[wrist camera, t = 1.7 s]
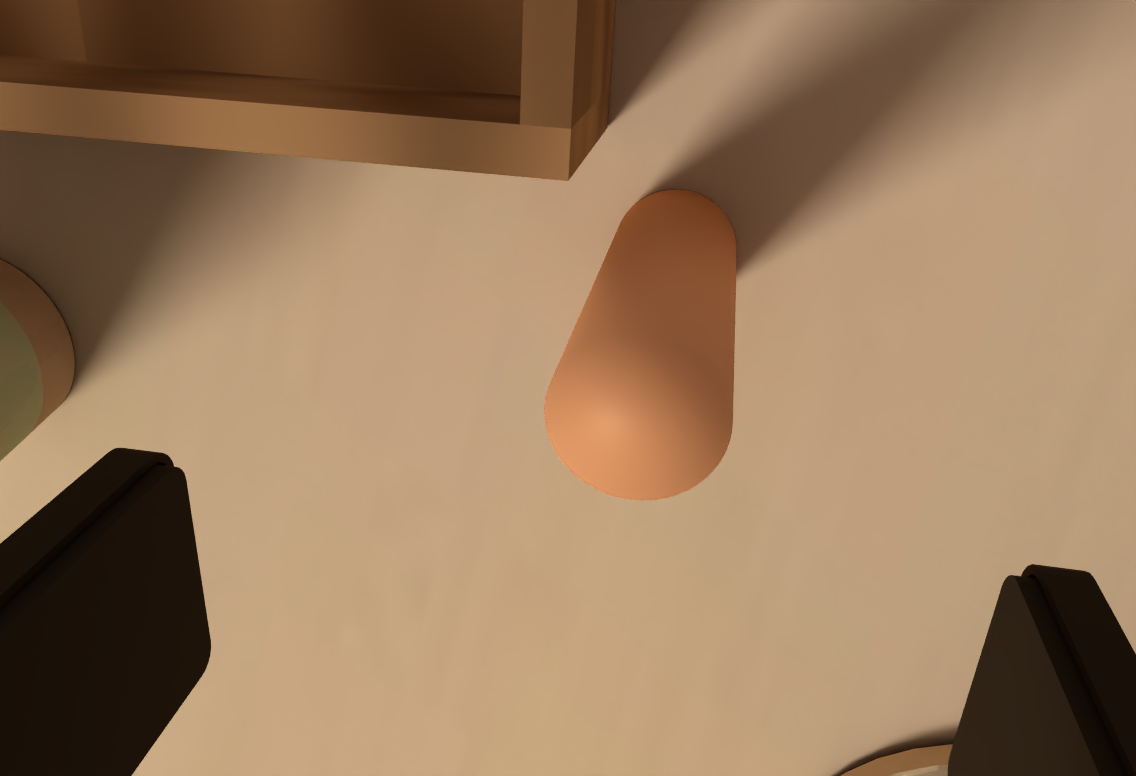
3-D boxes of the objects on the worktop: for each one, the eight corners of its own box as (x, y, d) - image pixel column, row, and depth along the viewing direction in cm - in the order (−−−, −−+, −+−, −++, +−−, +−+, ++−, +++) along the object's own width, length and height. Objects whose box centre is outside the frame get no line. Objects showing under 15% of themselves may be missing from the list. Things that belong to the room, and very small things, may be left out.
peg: (744, 195, 24) (744, 342, 15) (728, 313, 26) (720, 511, 17) (619, 184, 25) (548, 321, 16) (610, 300, 26) (540, 488, 17)
